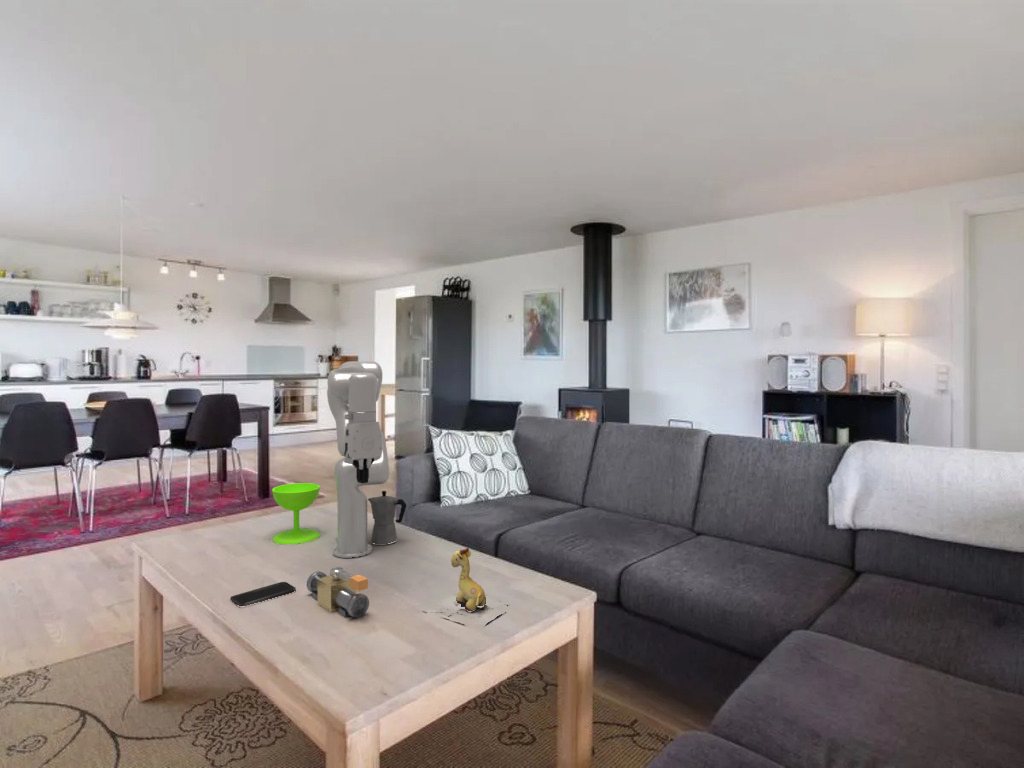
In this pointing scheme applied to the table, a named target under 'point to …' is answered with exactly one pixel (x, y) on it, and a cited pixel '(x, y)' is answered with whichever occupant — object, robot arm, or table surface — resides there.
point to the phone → (263, 594)
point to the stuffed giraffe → (467, 583)
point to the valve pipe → (337, 595)
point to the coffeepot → (385, 518)
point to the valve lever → (350, 578)
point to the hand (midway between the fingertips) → (362, 482)
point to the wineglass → (296, 510)
